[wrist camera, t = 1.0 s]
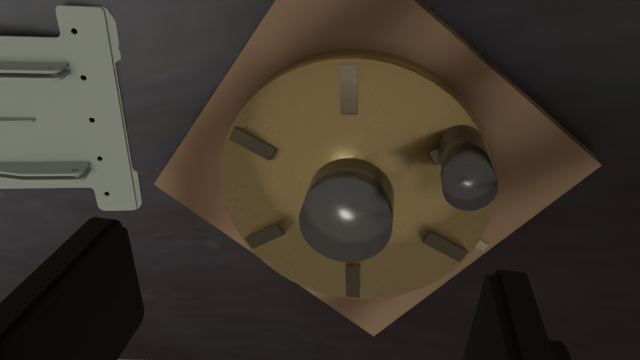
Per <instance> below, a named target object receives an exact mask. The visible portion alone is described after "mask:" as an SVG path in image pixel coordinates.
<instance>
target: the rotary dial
mask: <svg viewBox="0 0 640 360" xmlns="http://www.w3.org/2000/svg"><path fill="white" fill-rule="evenodd" d="M220 179H221V189H222V194H223V199H224V202H225V205H226V208H227V211H228V214H229V216H230V218H231V220H232V222H233V224H234V226H235V228H236V230H237V231H238V233H239V234H240V236H241V237H242V239H243V240H244V241H245V243H246V244H247V245H248V246H249V247H250V249H251V250H252V251H253V252H254V253H255V254H256V255H257V256H258V257H259V258H260V259H261V260H262V261H263V262H264V263H266V264H267V265H268V266H270V267H271V268H272V269H274V270H275V271H276V272H278V273H279V274H281V275H283V276H284V277H286V278H288V279H289V280H291V281H293V282H295V283H297V284H299V285H301V286H304V287H306V288H309V289H312V290H315V291H317V292H321V293H325V294H328V295H332V296H338V297H344V298H355V299H379V298H386V297H393V296H398V295H402V294H406V293H410V292H413V291H416V290H418V289H421V288H424V287H426V286H428V285H430V284H432V283H434V282H436V281H438V280H439V279H441V278H442V277H444V276H445V275H447V274H448V273H450V272H451V271H453V270H454V269H455V268H456V267H457V266H458V265H460V264H461V263H462V262H463V261H464V260H465V259H466V258H467V256H468V255H469V254H470V253H471V252H472V251H473V250H474V248H475V246H476V245H477V243H478V242H479V240H480V239H481V237H482V235H483V233H484V231H485V229H486V227H487V225H488V222H489V219H490V215H491V212H492V209H493V202H494V198H495V196H496V194H497V192H498V181H497V178H496V175H495V172H494V169H493V166H492V161H491V157H490V154H489V151H488V148H487V145H486V142H485V139H484V136H483V134H482V131H481V128H480V126H479V124H478V122H477V120H476V118H475V116H474V115H473V113H472V111H471V109H470V108H469V107H468V105H467V104H466V103H465V101H464V100H463V99H462V98H461V96H460V95H459V94H458V93H457V92H456V91H455V90H454V89H453V88H452V87H451V86H450V85H449V84H448V83H446V82H445V81H444V80H442V79H441V78H440V77H438V76H437V75H436V74H434V73H433V72H431V71H429V70H428V69H426V68H424V67H422V66H420V65H418V64H417V63H414V62H412V61H409V60H407V59H404V58H401V57H399V56H395V55H391V54H387V53H383V52H378V51H369V50H338V51H332V52H326V53H321V54H318V55H314V56H311V57H308V58H305V59H302V60H300V61H298V62H296V63H294V64H292V65H290V66H288V67H286V68H285V69H283V70H282V71H280V72H279V73H277V74H276V75H274V76H273V77H272V78H271V79H269V80H268V81H267V82H266V83H265V84H264V85H263V86H262V87H261V88H260V89H259V90H258V91H257V92H256V93H255V95H254V96H253V97H252V98H251V99H250V100H249V102H248V103H247V104H246V105H245V106H244V107H243V109H242V110H241V111H240V112H239V114H238V116H237V117H236V119H235V121H234V122H233V124H232V125H231V128H230V130H229V132H228V135H227V137H226V140H225V143H224V147H223V151H222V155H221V166H220Z"/></svg>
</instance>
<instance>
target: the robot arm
mask: <svg viewBox="0 0 640 360" xmlns="http://www.w3.org/2000/svg"><path fill="white" fill-rule="evenodd" d="M143 316H144V307H143V302H142V297H141V293H140V288H139V283H138V278H137V274H136V269H135V264H134V259H133V255H132V250H131V245H130V240H129V236H128V232H127V229H126V228H125V227H122V225H121V223H120V222H119V221H118V220H114V219H106V218H98V217H93V218H91V219H89V220H88V221H87V222H86V223H85V224H84V225H83V226H82V227H80V228H79V229H78V230H77V231H76V232H75V233H74V234H73V235H72V236H71V237H70V238H69V239H68V240H67V241H66V242H65V243H63V244H62V245H61V246H60V247H59V248H58V249H57V250H56V251H55V252H54V253H53V254H52V255H51V256H50V257H49V258H48V259H47V260H45V261H44V262H43V263H42V264H41V265H40V266H39V267H38V268H37V269H36V270H35V271H34V272H33V273H32V274H31V275H30V276H28V277H27V278H26V279H25V280H24V281H23V282H22V283H21V284H20V285H19V286H18V287H17V288H16V289H15V290H14V291H13V292H12V293H10V294H9V295H8V296H7V297H6V298H5V299H4V300H3V301H2V302H1V303H0V360H117V359H118V358H119V356H120V355H121V353H122V352H123V350H124V349H125V347H126V345H127V344H128V342H129V341H130V339H131V338H132V336H133V335H134V333H135V332H136V330H137V329H138V327H139V326H140V324H141V322H142V319H143ZM463 360H571V357H570V355H569V352H568V350H567V348H566V346H565V345H564V344H563V343H562V342H560V341H553V340H548V337H547V334H546V331H545V328H544V325H543V322H542V319H541V316H540V313H539V310H538V307H537V303H536V300H535V297H534V294H533V291H532V288H531V285H530V282H529V279H528V277H527V275H526V273H523V272H516V271H508V270H500V269H498V270H496V272H495V274H494V275H486V277H485V280H484V283H483V287H482V290H481V294H480V298H479V302H478V305H477V309H476V313H475V316H474V320H473V324H472V327H471V331H470V335H469V338H468V342H467V346H466V349H465V353H464V357H463Z"/></svg>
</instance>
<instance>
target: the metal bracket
mask: <svg viewBox="0 0 640 360" xmlns="http://www.w3.org/2000/svg"><path fill="white" fill-rule="evenodd" d="M56 15H57V20H58V25H59V29H60V36H59V37H33V36H0V189H9V188H92V189H93V190H94V191H95V195H96V200H97V205H98V207H99V208H100V209H101V210H104V211H114V210H135V209H138V208H139V207H140V206H141V203H142V202H141V196H140V189H139V182H138V175H137V171H135V170H134V169H133V167H132V160H131V154H130V148H129V142H128V136H127V130H126V123H125V117H124V111H123V105H122V99H121V93H120V87H119V80H118V74H117V68H116V62H117V61H118V60H121V56H120V51H119V49H118V46H119V42H118V35H117V29H116V22H115V20H114V18H113V17H112V15H111V13H110V12H109V10H108V9H107V8H106V7H104V6H81V5H59V6H57V7H56ZM72 28H75V29H76V30H77V34H74V33H73V32H72ZM81 75H84V76H86V78H87V79H86V80H83V79H82V78H81ZM90 118H94V119H95V122H92V121H90ZM99 156H100V157H102V160H99V159H98V157H99ZM105 192H108V193H109V195H106V194H105Z"/></svg>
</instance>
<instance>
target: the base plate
mask: <svg viewBox="0 0 640 360" xmlns="http://www.w3.org/2000/svg"><path fill="white" fill-rule="evenodd" d="M338 50H369V51H378V52H383V53H387V54H391V55H395V56H399V57H401V58H404V59H407V60H409V61H412V62H414V63H417V64H418V65H420V66H422V67H424V68H426V69H428V70H429V71H431V72H433V73H434V74H436V75H437V76H438V77H440V78H441V79H442V80H444V81H445V82H446V83H448V84H449V85H450V86H451V87H452V88H453V89H454V90H455V91H456V92H457V93H458V94H459V95H460V96H461V98H462V99H463V100H464V101H465V103H466V104H467V105H468V107H469V108H470V109H471V111H472V113H473V115H474V116H475V118H476V120H477V122H478V124H479V126H480V128H481V131H482V134H483V136H484V139H485V142H486V145H487V148H488V151H489V154H490V157H491V161H492V166H493V169H494V172H495V175H496V178H497V181H498V192H497V194H496V196H495V198H494V202H493V209H492V212H491V215H490V219H489V222H488V225H487V227H486V229H485V231H484V233H483V235H482V237H481V239H480V240H479V242H478V243H477V245H476V246H475V248H474V250H473V251H472V252H471V253H470V254H469V255H468V256H467V258H466V259H465V260H464V261H463V262H462V263H461V264H460V265H458V266H457V267H456V268H455V269H454V270H453V271H451V272H450V273H448V274H447V275H445V276H444V277H442V278H441V279H439V280H438V281H436V282H434V283H432V284H430V285H428V286H426V287H424V288H421V289H418V290H416V291H413V292H410V293H406V294H402V295H398V296H393V297H386V298H379V299H355V298H344V297H338V296H332V295H328V294H325V293H321V292H317V291H315V290H312V289H309V288H306V287H304V286H302V287H303V288H304V289H306V290H307V291H309V292H310V293H312V294H313V295H315V296H316V297H318V298H319V299H320V300H322V301H323V302H325V303H326V304H328V305H329V306H331V307H332V308H333V309H335V310H336V311H338V312H339V313H341V314H342V315H344V316H345V317H346V318H348V319H349V320H351V321H352V322H354V323H355V324H357V325H358V326H360V327H361V328H362V329H364V330H365V331H367V332H368V333H370V334H371V335H373V336H375V335H376V334H377V333H379V332H380V331H381V330H383V329H384V328H385V327H387V326H388V325H389V324H391V323H392V322H393V321H395V320H396V319H397V318H399V317H400V316H401V315H403V314H404V313H405V312H407V311H408V310H409V309H411V308H412V307H413V306H415V305H416V304H417V303H419V302H420V301H421V300H423V299H424V298H425V297H427V296H428V295H429V294H431V293H432V292H433V291H435V290H436V289H437V288H439V287H440V286H441V285H443V284H444V283H445V282H447V281H448V280H449V279H451V278H452V277H453V276H455V275H456V274H457V273H459V272H460V271H461V270H463V269H464V268H465V267H467V266H468V265H469V264H471V263H472V262H473V261H475V260H476V259H477V258H479V257H480V256H481V255H483V254H484V253H485V252H487V251H488V250H489V249H491V248H492V247H493V246H495V245H496V244H497V243H499V242H500V241H501V240H503V239H504V238H506V237H507V236H508V235H510V234H511V233H512V232H514V231H515V230H516V229H518V228H519V227H520V226H522V225H523V224H524V223H526V222H527V221H528V220H530V219H531V218H532V217H534V216H535V215H536V214H538V213H539V212H540V211H542V210H543V209H544V208H546V207H547V206H548V205H550V204H551V203H552V202H554V201H555V200H556V199H558V198H559V197H560V196H562V195H563V194H564V193H566V192H567V191H568V190H570V189H571V188H572V187H574V186H575V185H576V184H578V183H579V182H580V181H582V180H583V179H584V178H586V177H587V176H588V175H590V174H591V173H592V172H594V171H595V170H596V169H598V168H599V167H600V166H602V165H601V164H600V163H599V161H598V160H597V159H596V157H595V156H594V155H593V154H592V152H591V151H590V150H589V149H588V148H587V147H586V146H584V145H583V144H582V143H581V142H580V141H579V140H578V139H577V138H575V137H574V136H573V135H572V134H571V133H570V132H569V131H567V130H566V129H565V128H564V127H563V126H562V125H561V124H560V123H558V122H557V121H556V120H555V119H554V118H553V117H552V116H550V115H549V114H548V113H547V112H546V111H545V110H544V109H543V108H541V107H540V106H539V105H538V104H537V103H536V102H535V101H533V100H532V99H531V98H530V97H529V96H528V95H527V94H526V93H524V92H523V91H522V90H521V89H520V88H519V87H518V86H516V85H515V84H514V83H513V82H512V81H511V80H510V79H508V78H507V77H506V76H505V75H504V74H503V73H502V72H501V71H499V70H498V69H497V68H496V67H495V66H494V65H493V64H491V63H490V62H489V61H488V60H487V59H486V58H485V57H484V56H482V55H481V54H480V53H479V52H478V51H477V50H476V49H474V48H473V47H472V46H471V45H470V44H469V43H468V42H467V41H465V40H464V39H463V38H462V37H461V36H460V35H459V34H457V33H456V32H455V31H454V30H453V29H452V28H451V27H450V26H448V25H447V24H446V23H445V22H444V21H443V20H442V19H440V18H439V17H438V16H437V15H436V14H435V13H434V12H433V11H431V10H430V9H429V8H428V7H427V6H426V5H425V4H423V3H422V2H421V1H420V0H275V2H274V3H273V5H272V6H271V8H270V9H269V11H268V12H267V14H266V15H265V17H264V18H263V20H262V21H261V23H260V24H259V26H258V27H257V29H256V31H255V32H254V34H253V35H252V37H251V38H250V40H249V41H248V43H247V44H246V46H245V47H244V49H243V50H242V52H241V53H240V55H239V56H238V58H237V59H236V61H235V62H234V64H233V65H232V67H231V68H230V70H229V71H228V73H227V74H226V76H225V77H224V79H223V80H222V82H221V83H220V85H219V86H218V88H217V90H216V91H215V93H214V94H213V96H212V97H211V99H210V100H209V102H208V103H207V105H206V106H205V108H204V109H203V111H202V112H201V114H200V115H199V117H198V118H197V120H196V121H195V123H194V124H193V126H192V127H191V129H190V130H189V132H188V133H187V135H186V136H185V138H184V139H183V141H182V142H181V144H180V145H179V147H178V148H177V150H176V152H175V153H174V155H173V156H172V158H171V159H170V161H169V162H168V164H167V165H166V167H165V168H164V170H163V171H162V173H161V174H160V176H159V177H158V179H157V180H156V182H155V183H154V185H155V186H157V187H158V188H160V189H161V190H163V191H164V192H166V193H167V194H168V195H170V196H171V197H173V198H174V199H176V200H177V201H179V202H180V203H181V204H183V205H184V206H186V207H187V208H189V209H190V210H192V211H193V212H194V213H196V214H197V215H199V216H200V217H202V218H203V219H205V220H206V221H208V222H209V223H210V224H212V225H213V226H215V227H216V228H218V229H219V230H221V231H222V232H223V233H225V234H226V235H228V236H229V237H231V238H232V239H234V240H235V241H236V242H238V243H239V244H241V245H242V246H244V247H245V248H247V249H248V250H249V251H251V252H252V253H254V252H253V251H252V250H251V249H250V247H249V246H248V245H247V244H246V243H245V241H244V240H243V239H242V237H241V236H240V234H239V233H238V231H237V230H236V228H235V226H234V224H233V222H232V220H231V218H230V216H229V214H228V211H227V208H226V205H225V202H224V199H223V194H222V189H221V179H220V166H221V155H222V151H223V147H224V143H225V140H226V137H227V135H228V132H229V130H230V128H231V125H232V124H233V122H234V121H235V119H236V117H237V116H238V114H239V112H240V111H241V110H242V109H243V107H244V106H245V105H246V104H247V103H248V102H249V100H250V99H251V98H252V97H253V96H254V95H255V93H256V92H257V91H258V90H259V89H260V88H261V87H262V86H263V85H264V84H265V83H266V82H267V81H268V80H269V79H271V78H272V77H273V76H274V75H276V74H277V73H279V72H280V71H282V70H283V69H285V68H286V67H288V66H290V65H292V64H294V63H296V62H298V61H300V60H302V59H305V58H308V57H311V56H314V55H318V54H321V53H326V52H332V51H338ZM254 254H255V253H254ZM255 255H256V254H255ZM300 286H301V285H300Z"/></svg>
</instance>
